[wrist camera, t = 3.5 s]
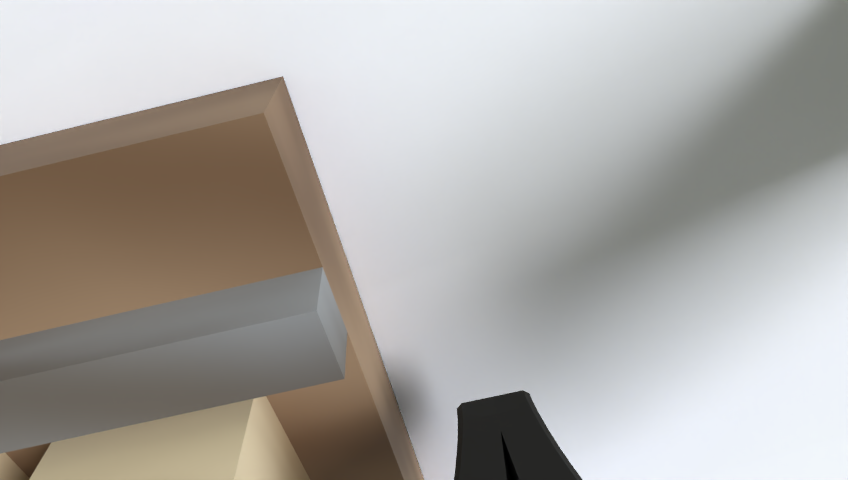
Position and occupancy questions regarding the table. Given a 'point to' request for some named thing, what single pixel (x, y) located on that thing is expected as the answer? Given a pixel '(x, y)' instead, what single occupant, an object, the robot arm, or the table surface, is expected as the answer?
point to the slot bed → (186, 286)
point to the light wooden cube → (182, 449)
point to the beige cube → (10, 469)
